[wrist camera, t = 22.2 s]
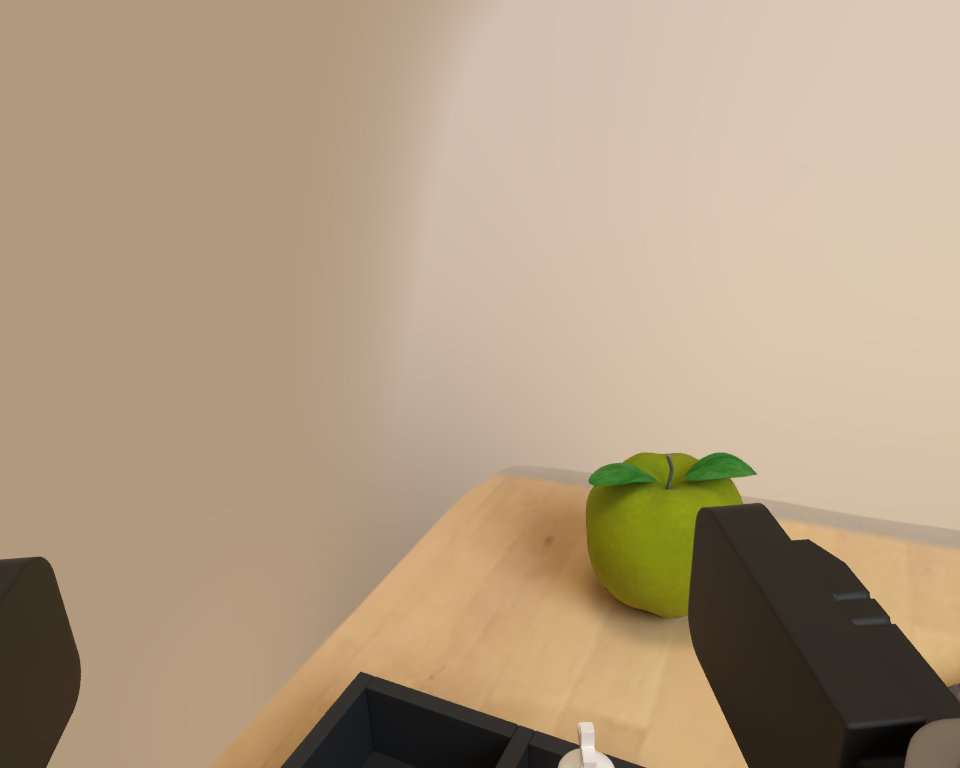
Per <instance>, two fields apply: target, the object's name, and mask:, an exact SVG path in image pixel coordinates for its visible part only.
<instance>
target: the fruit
mask: <svg viewBox="0 0 960 768" xmlns="http://www.w3.org/2000/svg"><path fill="white" fill-rule="evenodd" d="M756 474H757V473H756V472H755V471H753V469H752V468H751V467H749V465H747V464H746V463H745V462H743V461H742V460H740V459H739V458H737V457H735V456H733V455H731V454H727V453H714V454H711V455H708V456H706V457H704V458H702V459H701V460H698V459H696V458H694V457H692V456H690V455H687V454H682V453H673V454H656V453H639V454H636V455H634V456H633V457H630V458H629V459H627V460H626V461H624V462H623V463H616V464H609V465H606V466H603V467H601V468H599V469H598V470H596V471H595V472H594V473H593V474H592V475H591V476H590V478H589V483H590V484H591V485H595V486H594V487H593V488H592V490H591V491H590V493H589V496H588V499H587V506H586V526H587V543H588V551H589V556H590V560H591V563H592V566H593V568H594V570H595V572H596V574H597V576H598V578H599V579H600V581H601V582H602V583H603V585H604V586H605V587H606V589H607V590H608V591H609V592H610V593H611V594H612V595H613V596H614V597H616V598H617V599H618V600H619V601H621V602H622V603H624V604H626V605H628V606H630V607H633V608H637V609H641V610H646V611H648V612H651V613H653V614H656V615H658V616H661V617H665V618H676V617H682V616H685V615H688V600H689V588H690V577H691V565H692V554H693V542H694V531H695V521H696V517H697V514H698V511H699V510H700V509H701V508H703V507H714V506H727V505H740V504H743V502H742V499H741V496H740V494H739V492H738V490H737V488H736V486H735V484H734V483H733V481H732V480H731V479H730V478H735V477H746V476H751V475H756Z"/></svg>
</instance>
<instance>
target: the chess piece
mask: <svg viewBox="0 0 960 768" xmlns="http://www.w3.org/2000/svg"><path fill="white" fill-rule="evenodd" d="M594 738H595V732H594V726H593V723H590V722H581V723H578V739H579V745H580V749H575V750H572V751H570V752H569V753H567V754H566V755H565V756H564V757H563V758H562V759H561V761H560V762H559V765H558V768H615V767H614V765H613V763H612V762H611V760H610V759H609V758H608V757H607V756H606V755H604V754H603V753H601V752H599V751H597V750H595V748H594Z"/></svg>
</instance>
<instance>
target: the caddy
mask: <svg viewBox="0 0 960 768" xmlns="http://www.w3.org/2000/svg"><path fill="white" fill-rule="evenodd" d="M575 749H580V745H577V744H574V743H571V742H568V741H565V740H562V739H559V738H556V737H553V736H550V735H547V734H544V733H541V732H539V731H534V730H532V729H529V728H526V727H523V726H520V725H519V726H518V725H517V724H515V723H512V722H509V721H506V720H503V719H500V718H497V717H494V716H491V715H488V714H485V713H482V712H479V711H476V710H473V709H470V708H467V707H464V706H461V705H458V704H455V703H452V702H449V701H446V700H444V699H441V698H438V697H435V696H432V695H429V694H426V693H423V692H420V691H417V690H414V689H411V688H408V687H405V686H402V685H399V684H396V683H393V682H390V681H387V680H384V679H381V678H378V677H374V676H372V675H369V674H366V673H363V672H360V673H359V674H358V675H357V676H356V678H355V679H354V680H353V681H352V682H351V684H350V685H349V686H348V687H347V688H346V690H345V691H344V692H343V693H342V694H341V696H340V697H339V698H338V699H337V700H336V702H335V703H334V704H333V705H332V706H331V708H330V709H329V710H328V711H327V712H326V714H325V715H324V716H323V717H322V719H321V720H320V721H319V722H318V723H317V725H316V726H315V727H314V728H313V729H312V731H311V732H310V733H309V734H308V735H307V737H306V738H305V739H304V740H303V741H302V743H301V744H300V745H299V746H298V747H297V749H296V750H295V751H294V752H293V753H292V755H291V756H290V757H289V758H288V759H287V761H286V762H285V763H284V764H283V766H282V767H281V768H558V765H559V762H560V761H561V759H562V758H563V757H564V756H565V755H566V754H567V753H569V752H570V751H572V750H575ZM603 754H604V753H603ZM604 755H606V756H607V757H608V758H609V759H610V760H611V762H612V763H613V765H614V767H615V768H645V767H642V766H639V765H636V764H633V763H630V762H627V761H624V760H621V759H619V758H616V757H613V756H610V755H607V754H604Z"/></svg>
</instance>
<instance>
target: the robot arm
mask: <svg viewBox="0 0 960 768" xmlns="http://www.w3.org/2000/svg"><path fill="white" fill-rule="evenodd" d="M688 620H689V628H690V634H691V639H692V643H693V647H694V650H695V653H696V655H697V658H698V660H699V662H700V664H701V666H702V669H703V671H704V673H705V675H706V677H707V679H708V681H709V684H710V686H711V688H712V690H713V692H714V694H715V697H716V699H717V701H718V703H719V705H720V707H721V709H722V712H723V714H724V716H725V718H726V720H727V722H728V724H729V727H730V729H731V731H732V733H733V735H734V737H735V739H736V742H737V744H738V746H739V748H740V750H741V752H742V754H743V757H744V759H745V761H746V763H747V765H748V767H749V768H960V702H959V700H958V699H957V698H956V697H955V696H954V694H953V693H952V692H951V691H950V690H949V688H948V687H947V686H946V685H945V683H944V682H943V681H942V680H941V679H940V677H939V676H938V675H937V674H936V673H935V671H934V670H933V669H932V668H931V666H930V665H929V664H928V663H927V662H926V660H925V659H924V658H923V657H922V656H921V654H920V653H919V652H918V651H917V649H916V648H915V647H914V646H913V645H912V643H911V642H910V641H909V640H908V639H907V637H906V636H905V635H904V634H903V633H902V631H901V630H900V629H899V628H898V626H897V625H896V624H891V622H890V617H889V616H888V614H887V613H886V612H885V611H884V609H883V608H882V607H881V606H880V605H879V603H878V602H877V601H876V600H875V599H871V598H870V592H869V591H868V590H867V589H866V588H865V586H864V585H863V584H862V583H861V582H860V580H859V579H858V578H857V577H856V576H855V574H854V573H853V572H852V571H851V569H850V568H849V567H848V566H847V565H846V563H844V562H843V561H841V560H840V559H838V558H837V557H835V556H834V555H832V554H830V553H829V552H827V551H826V550H824V549H823V548H821V547H820V546H818V545H816V544H815V543H813V542H812V541H810V540H809V539H806V540H793V541H791V539H790V538H789V537H788V535H787V534H786V533H785V531H784V530H783V529H782V527H781V526H780V525H779V523H778V522H777V521H776V519H775V518H774V517H773V515H772V514H771V513H770V511H769V510H768V509H767V508H766V507H765V506H764V505H763V504H761V503H753V504H740V505H727V506H714V507H703V508H701V509H700V510H699V511H698V514H697V517H696V521H695V531H694V542H693V554H692V565H691V577H690V588H689V600H688ZM80 680H81V667H80V659H79V654H78V650H77V647H76V644H75V641H74V637H73V634H72V631H71V627H70V624H69V620H68V617H67V614H66V610H65V607H64V604H63V600H62V597H61V594H60V590H59V587H58V584H57V580H56V577H55V574H54V571H53V568H52V567H51V565H50V563H49V562H48V561H47V560H46V559H45V558H43V557H28V558H15V559H4V560H3V559H2V560H0V768H46V767H47V765H48V762H49V760H50V758H51V756H52V754H53V752H54V750H55V748H56V746H57V744H58V742H59V740H60V738H61V736H62V734H63V731H64V729H65V727H66V725H67V723H68V721H69V719H70V717H71V715H72V713H73V711H74V708H75V705H76V702H77V699H78V694H79V689H80Z"/></svg>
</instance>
